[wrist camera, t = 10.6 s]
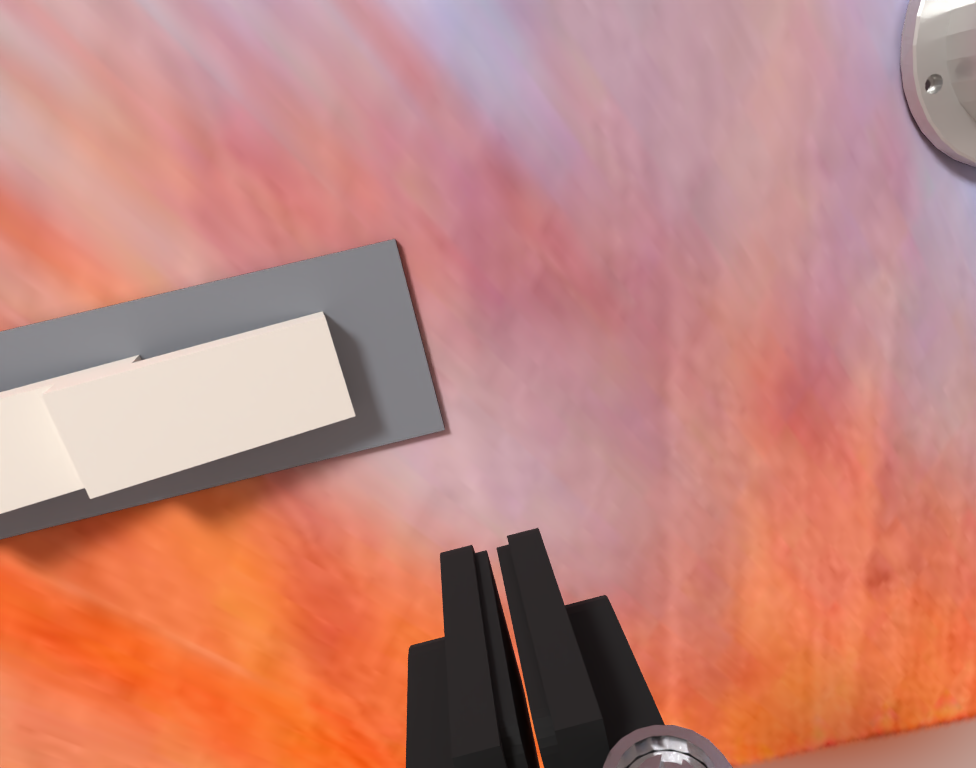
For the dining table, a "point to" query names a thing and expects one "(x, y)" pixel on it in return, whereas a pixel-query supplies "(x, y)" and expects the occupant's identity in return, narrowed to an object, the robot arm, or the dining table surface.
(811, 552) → the dining table surface
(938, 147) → the robot arm
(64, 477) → the domino
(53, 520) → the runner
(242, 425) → the domino
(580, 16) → the dining table surface
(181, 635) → the dining table surface
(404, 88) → the dining table surface
